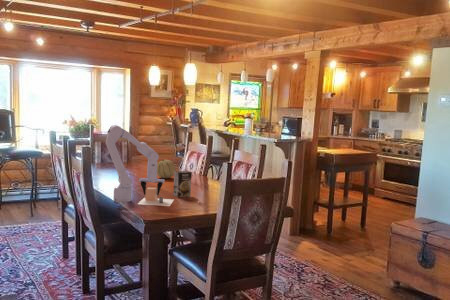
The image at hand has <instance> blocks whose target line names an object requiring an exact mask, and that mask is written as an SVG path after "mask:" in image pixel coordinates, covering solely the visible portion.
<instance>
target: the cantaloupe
mask: <svg viewBox="0 0 450 300" xmlns="http://www.w3.org/2000/svg"><path fill="white" fill-rule="evenodd" d="M175 171H176V165H175V164H174V162H172V160H170V159H162V160H160V161H158V162H157V177H159V178H161V179H170V178H172V177H174V172H175Z"/></svg>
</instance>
